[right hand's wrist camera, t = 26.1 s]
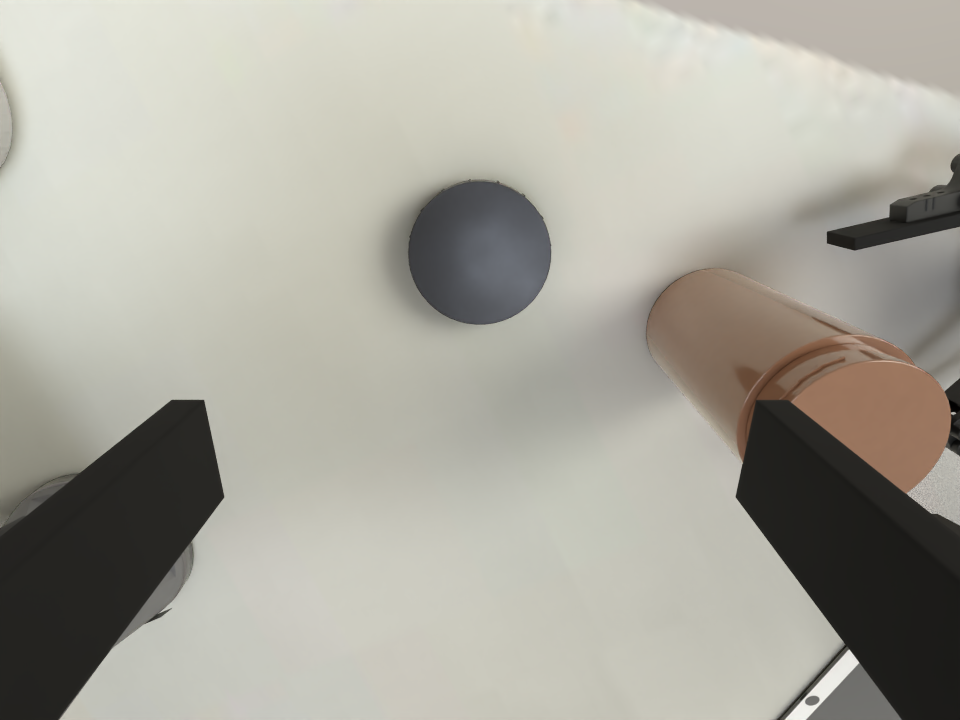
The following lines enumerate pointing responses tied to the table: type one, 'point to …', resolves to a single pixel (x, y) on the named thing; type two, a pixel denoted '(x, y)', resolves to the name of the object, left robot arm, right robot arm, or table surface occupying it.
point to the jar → (796, 371)
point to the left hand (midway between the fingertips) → (838, 342)
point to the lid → (479, 252)
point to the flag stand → (4, 125)
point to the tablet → (842, 695)
